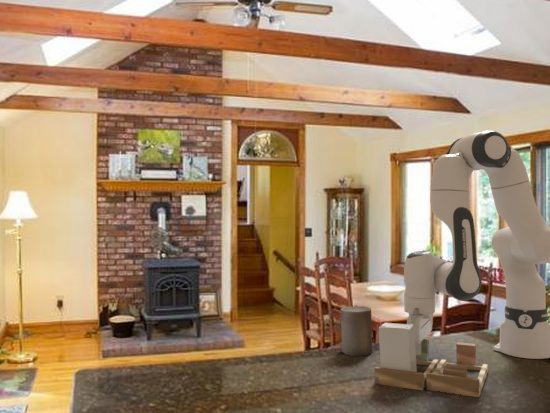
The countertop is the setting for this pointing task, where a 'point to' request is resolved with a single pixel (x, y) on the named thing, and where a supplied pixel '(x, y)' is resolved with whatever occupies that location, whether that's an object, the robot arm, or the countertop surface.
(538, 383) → the countertop surface
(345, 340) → the pillar candle
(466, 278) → the robot arm
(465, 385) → the frame
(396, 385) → the frame
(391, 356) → the skincare box
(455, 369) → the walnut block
